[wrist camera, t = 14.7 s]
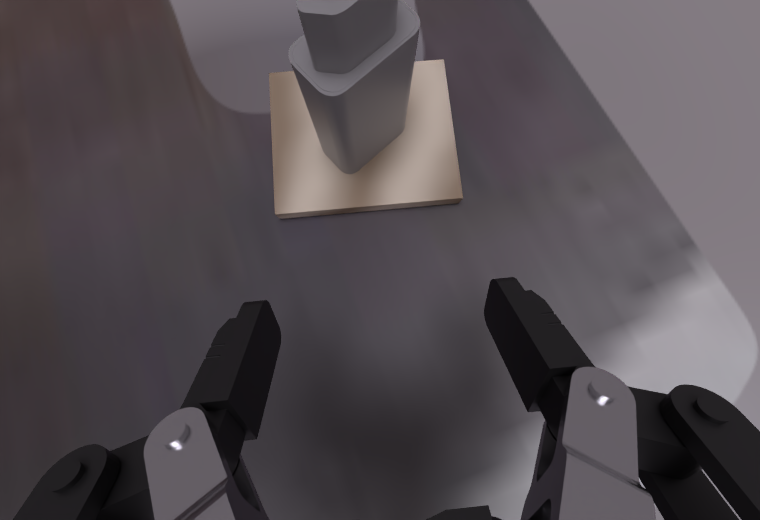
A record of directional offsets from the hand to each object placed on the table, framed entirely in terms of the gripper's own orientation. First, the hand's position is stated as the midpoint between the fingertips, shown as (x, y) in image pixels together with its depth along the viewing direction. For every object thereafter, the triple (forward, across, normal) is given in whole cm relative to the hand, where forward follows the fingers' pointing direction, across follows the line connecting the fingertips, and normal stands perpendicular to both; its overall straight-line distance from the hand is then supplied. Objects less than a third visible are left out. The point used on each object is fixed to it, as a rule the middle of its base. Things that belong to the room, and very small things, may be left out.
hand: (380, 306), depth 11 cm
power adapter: (+13, 0, -3) cm, 13 cm away
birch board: (+14, 0, -2) cm, 14 cm away
